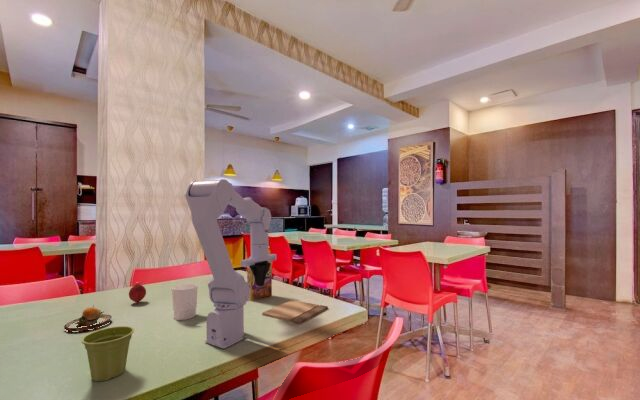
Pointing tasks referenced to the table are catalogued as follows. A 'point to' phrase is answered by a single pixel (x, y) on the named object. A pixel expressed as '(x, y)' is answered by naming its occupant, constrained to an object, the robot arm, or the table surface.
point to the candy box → (260, 291)
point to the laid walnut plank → (309, 314)
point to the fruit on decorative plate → (89, 320)
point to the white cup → (184, 301)
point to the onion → (137, 292)
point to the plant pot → (107, 351)
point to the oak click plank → (289, 310)
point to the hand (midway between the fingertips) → (260, 285)
